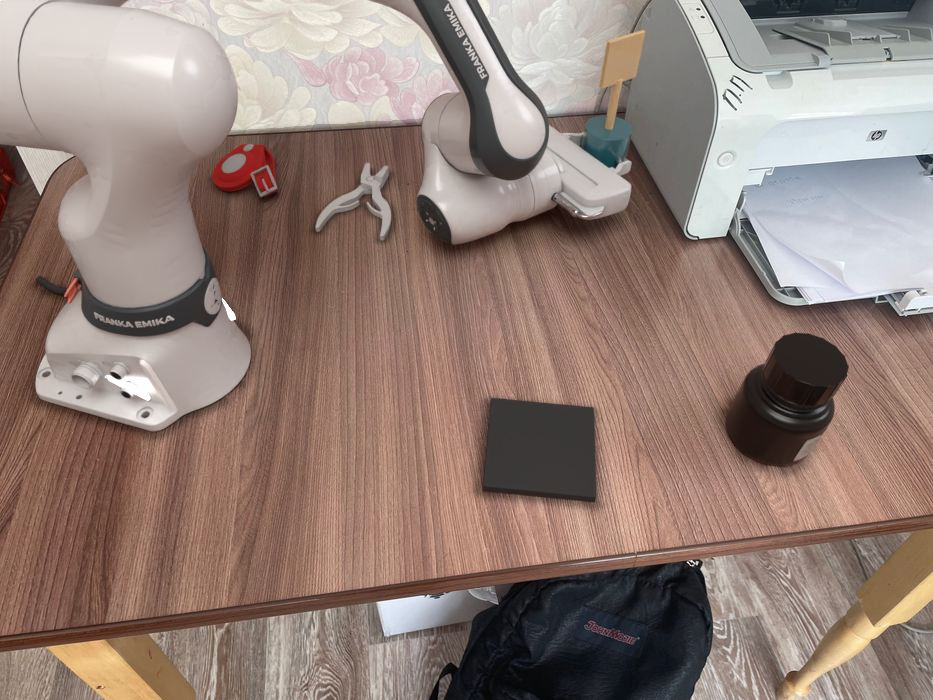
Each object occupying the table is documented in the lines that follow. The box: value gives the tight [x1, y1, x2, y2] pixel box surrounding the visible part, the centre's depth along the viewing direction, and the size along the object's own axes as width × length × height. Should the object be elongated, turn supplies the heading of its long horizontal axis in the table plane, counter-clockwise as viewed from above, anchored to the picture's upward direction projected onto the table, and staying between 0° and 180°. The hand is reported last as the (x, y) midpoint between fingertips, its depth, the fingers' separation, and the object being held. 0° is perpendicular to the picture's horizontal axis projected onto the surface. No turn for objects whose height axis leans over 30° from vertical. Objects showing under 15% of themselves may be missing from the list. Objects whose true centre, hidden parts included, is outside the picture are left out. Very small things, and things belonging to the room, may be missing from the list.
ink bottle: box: [725, 332, 850, 467], centre depth 71 cm, size 10×9×12 cm
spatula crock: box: [582, 29, 646, 178], centre depth 96 cm, size 6×6×22 cm
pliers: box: [315, 162, 392, 241], centre depth 100 cm, size 10×2×15 cm
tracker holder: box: [211, 143, 279, 198], centre depth 102 cm, size 12×4×10 cm
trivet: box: [482, 397, 597, 503], centre depth 73 cm, size 11×11×1 cm
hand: (608, 150), depth 100 cm, fingers closed on spatula crock, 6 cm apart
